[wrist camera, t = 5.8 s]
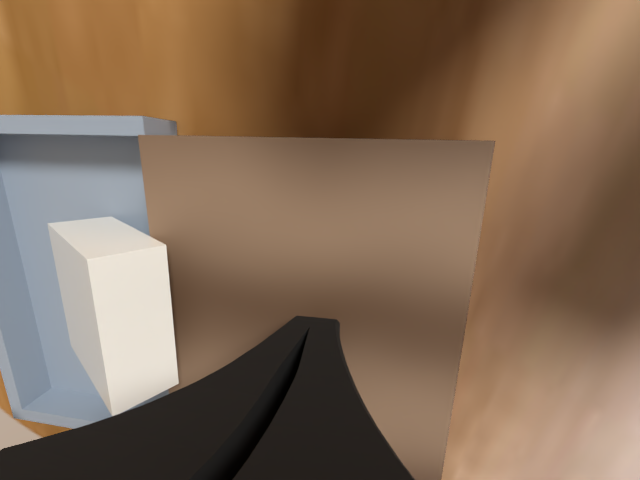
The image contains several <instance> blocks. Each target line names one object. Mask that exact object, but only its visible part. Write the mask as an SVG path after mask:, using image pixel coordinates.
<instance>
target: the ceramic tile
mask: <svg viewBox="0 0 640 480" xmlns="http://www.w3.org/2000/svg"><path fill="white" fill-rule="evenodd" d="M47 225H48V230H49V235H50V240H51V245H52V250H53V255H54V261H55V266H56V271H57V276H58V281H59V286H60V291H61V297H62V302H63V307H64V312H65V317H66V322H67V327H68V333H69V338H70V343H71V346H72V348H73V350H74V352H75V353H76V355H77V357H78V358H79V360H80V362H81V364H82V365H83V367H84V369H85V370H86V372H87V374H88V376H89V377H90V379H91V381H92V382H93V384H94V386H95V388H96V389H97V391H98V393H99V394H100V396H101V398H102V400H103V401H104V403H105V405H106V406H107V408H108V410H109V412H110V413H111V415H112V416H115V415H117V414H120V413H122V412H124V411H126V410H128V409H130V408H132V407H134V406H136V405H138V404H140V403H142V402H144V401H146V400H148V399H150V398H152V397H154V396H155V395H157V394H159V393H161V392H163V391H165V390H167V389H169V388H171V387H173V386H175V385H177V384H179V380H178V369H177V358H176V347H175V336H174V325H173V314H172V304H171V293H170V282H169V271H168V260H167V249H166V244H164V243H162V242H160V241H158V240H156V239H154V238H152V237H150V236H148V235H146V234H144V233H142V232H140V231H139V230H137V229H135V228H133V227H131V226H129V225H127V224H125V223H123V222H121V221H119V220H117V219H115V218H114V217H112V216H111V217H102V218H92V219H83V220H74V221H64V222H55V223H47Z"/></svg>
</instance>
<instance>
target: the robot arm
mask: <svg viewBox="0 0 640 480" xmlns="http://www.w3.org/2000/svg"><path fill="white" fill-rule="evenodd" d="M0 480H415V479H414V478H413V476H412V475H411V474H410V472H409V471H408V470H407V468H406V467H405V466H404V465H403V463H402V462H401V461H400V459H399V458H398V456H397V455H396V453H395V452H394V450H393V449H392V447H391V446H390V444H389V443H388V441H387V440H386V439H385V437H384V436H383V434H382V433H381V431H380V430H379V428H378V427H377V425H376V423H375V422H374V420H373V418H372V416H371V415H370V413H369V411H368V409H367V408H366V406H365V404H364V402H363V400H362V398H361V396H360V394H359V392H358V390H357V388H356V385H355V383H354V381H353V378H352V376H351V373H350V371H349V368H348V366H347V363H346V360H345V356H344V353H343V350H342V346H341V341H340V323H339V321H338V320H337V319H328V318H318V317H307V316H295V317H294V318H293V319H291V320H290V321H289V322H287V323H286V324H285V325H284V326H282V327H281V328H280V329H278V330H277V331H276V332H274V333H273V334H272V335H270V336H269V337H268V338H266V339H265V340H264V341H262V342H261V343H259V344H258V345H257V346H255V347H254V348H252V349H251V350H249V351H247V352H246V353H244V354H243V355H241V356H240V357H238V358H237V359H235V360H234V361H232V362H231V363H229V364H227V365H226V366H224V367H222V368H220V369H219V370H217V371H215V372H213V373H211V374H210V375H208V376H206V377H204V378H202V379H200V380H198V381H196V382H194V383H192V384H190V385H188V386H186V387H184V388H181V389H179V390H177V391H174V392H172V393H170V394H168V395H165V396H163V397H161V398H159V399H156V400H154V401H152V402H149V403H147V404H144V405H142V406H139V407H136V408H134V409H131V410H128V411H126V412H123V413H120V414H117V415H115V416H112V417H109V418H106V419H103V420H100V421H97V422H94V423H91V424H88V425H85V426H82V427H79V428H75V429H72V430H68V431H65V432H61V433H58V434H54V435H51V436H47V437H44V438H40V439H37V440H33V441H30V442H26V443H23V444H19V445H15V446H11V447H8V448H4V449H2V450H1V451H0Z"/></svg>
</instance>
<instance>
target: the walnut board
mask: <svg viewBox="0 0 640 480" xmlns="http://www.w3.org/2000/svg"><path fill="white" fill-rule="evenodd" d="M138 141H139V149H140V158H141V166H142V174H143V183H144V191H145V199H146V208H147V216H148V224H149V233H150V237H152V238H154V239H156V240H158V241H160V242H162V243H164V244H166V249H167V260H168V271H169V282H170V293H171V304H172V314H173V325H174V336H175V347H176V358H177V369H178V380H179V384H177V385H175V386H173V387H171V388H169V389H168V391H169V394H170V393H172V392H174V391H177V390H179V389H181V388H184V387H186V386H188V385H190V384H192V383H194V382H196V381H198V380H200V379H202V378H204V377H206V376H208V375H210V374H211V373H213V372H215V371H217V370H219V369H220V368H222V367H224V366H226V365H227V364H229V363H231V362H232V361H234V360H235V359H237V358H238V357H240V356H241V355H243V354H244V353H246V352H247V351H249V350H251V349H252V348H254V347H255V346H257V345H258V344H259V343H261V342H262V341H264V340H265V339H266V338H268V337H269V336H270V335H272V334H273V333H274V332H276V331H277V330H278V329H280V328H281V327H282V326H284V325H285V324H286V323H287V322H289V321H290V320H291V319H293V318H294V317H295V316H307V317H318V318H328V319H337V320H338V321H339V323H340V341H341V346H342V350H343V353H344V356H345V360H346V363H347V366H348V368H349V371H350V373H351V376H352V378H353V381H354V383H355V385H356V388H357V390H358V392H359V394H360V396H361V398H362V400H363V402H364V404H365V406H366V408H367V409H368V411H369V413H370V415H371V416H372V418H373V420H374V422H375V423H376V425H377V427H378V428H379V430H380V431H381V433H382V434H383V436H384V437H385V439H386V440H387V441H388V443H389V444H390V446H391V447H392V449H393V450H394V452H395V453H396V455H397V456H398V458H399V459H400V461H401V462H402V463H403V465H404V466H405V467H406V468H407V470H408V471H409V472H410V474H411V475H412V476H413V478H414V479H415V480H441V478H442V471H443V465H444V459H445V453H446V446H447V440H448V434H449V427H450V421H451V415H452V409H453V402H454V396H455V390H456V384H457V377H458V371H459V365H460V359H461V352H462V346H463V340H464V334H465V327H466V321H467V315H468V308H469V302H470V296H471V290H472V283H473V277H474V271H475V265H476V258H477V252H478V246H479V240H480V233H481V227H482V221H483V214H484V208H485V202H486V196H487V189H488V183H489V177H490V171H491V164H492V158H493V152H494V146H495V141H475V140H416V139H356V138H297V137H238V136H179V135H138Z"/></svg>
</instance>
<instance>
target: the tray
mask: <svg viewBox="0 0 640 480" xmlns="http://www.w3.org/2000/svg"><path fill="white" fill-rule="evenodd" d="M138 135H177V126H176V121H170V120H164V119H158V118H151V117H145V116H70V115H0V370H1V373H2V377H3V381H4V384H5V388H6V391H7V395H8V399H9V402H10V406H11V409H12V413H13V417H14V418H16V419H22V420H28V421H33V422H39V423H45V424H50V425H56V426H62V427H67V428H73V429H75V428H79V427H82V426H85V425H88V424H91V423H94V422H97V421H100V420H103V419H106V418H109V417H112V415H111V413H110V412H109V410H108V408H107V406H106V405H105V403H104V401H103V400H102V398H101V396H100V394H99V393H98V391H97V389H96V388H95V386H94V384H93V382H92V381H91V379H90V377H89V376H88V374H87V372H86V370H85V369H84V367H83V365H82V364H81V362H80V360H79V358H78V357H77V355H76V353H75V352H74V350H73V348H72V346H71V343H70V338H69V333H68V327H67V322H66V317H65V312H64V307H63V302H62V297H61V291H60V286H59V281H58V276H57V271H56V266H55V261H54V255H53V250H52V245H51V240H50V235H49V230H48V225H47V223H55V222H64V221H74V220H83V219H92V218H102V217H111V216H112V217H114V218H115V219H117V220H119V221H121V222H123V223H125V224H127V225H129V226H131V227H133V228H135V229H137V230H139V231H140V232H142V233H144V234H146V235H148V236H150V233H149V224H148V216H147V208H146V199H145V191H144V183H143V174H142V166H141V158H140V149H139V141H138ZM168 394H169V391H168V389H167V390H165V391H163V392H161V393H159V394H157V395H155V396H154V397H152V398H150V399H148V400H146V401H144V402H142V403H140V404H138V405H136V406H134V407H132V408H130V409H128V410H131V409H134V408H136V407H139V406H142V405H144V404H147V403H149V402H152V401H154V400H156V399H159V398H161V397H163V396H165V395H168ZM128 410H126V411H128ZM126 411H124V412H126ZM122 413H123V412H122Z"/></svg>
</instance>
